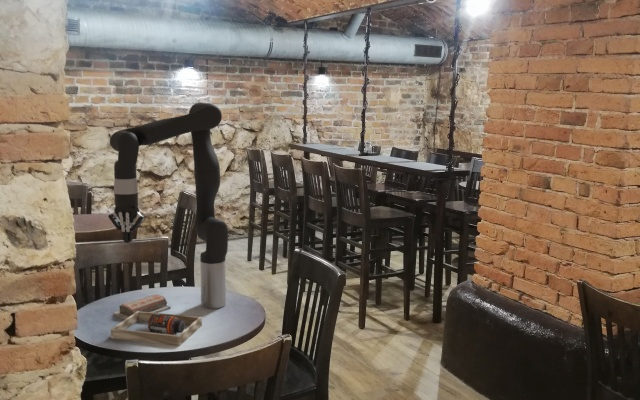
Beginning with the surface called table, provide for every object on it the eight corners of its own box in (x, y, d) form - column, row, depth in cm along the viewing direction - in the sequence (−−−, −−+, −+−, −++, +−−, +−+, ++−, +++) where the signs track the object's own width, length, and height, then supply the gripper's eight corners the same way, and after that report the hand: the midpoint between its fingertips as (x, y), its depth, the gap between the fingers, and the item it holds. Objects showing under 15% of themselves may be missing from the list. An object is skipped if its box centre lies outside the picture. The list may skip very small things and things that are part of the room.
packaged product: (153, 291, 243) (170, 297, 237) (153, 303, 244) (171, 309, 238) (112, 303, 229) (129, 309, 223) (112, 316, 230) (129, 323, 224)
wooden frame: (137, 319, 226) (137, 311, 226) (201, 325, 221) (201, 317, 221) (111, 338, 209) (110, 329, 208) (179, 345, 204) (179, 336, 203)
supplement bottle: (152, 310, 215) (182, 313, 212) (158, 320, 219) (188, 324, 216) (144, 325, 211) (176, 329, 208) (151, 335, 215) (181, 339, 212)
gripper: (149, 190, 216) (151, 241, 219) (113, 188, 218) (115, 238, 221) (138, 194, 208) (140, 246, 211) (101, 192, 211) (104, 243, 214)
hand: (127, 242), depth 216 cm, fingers closed
